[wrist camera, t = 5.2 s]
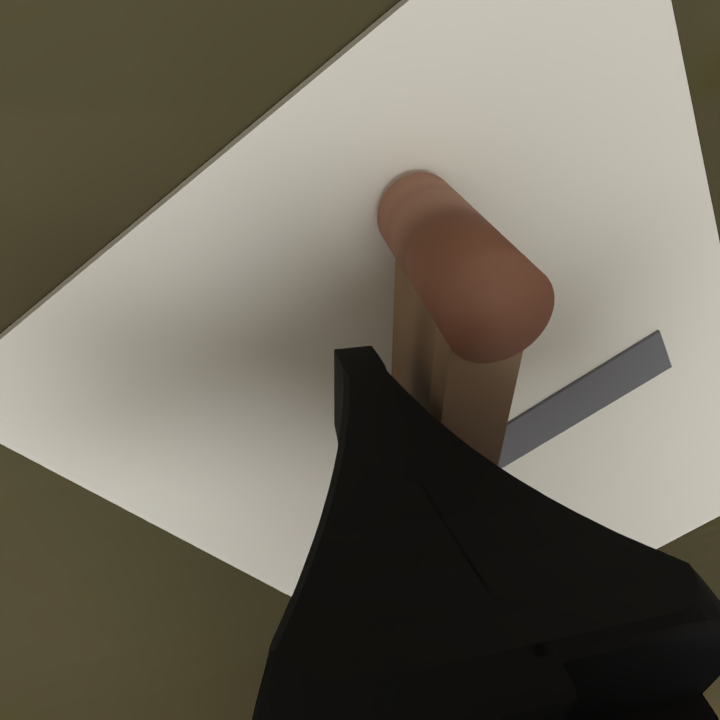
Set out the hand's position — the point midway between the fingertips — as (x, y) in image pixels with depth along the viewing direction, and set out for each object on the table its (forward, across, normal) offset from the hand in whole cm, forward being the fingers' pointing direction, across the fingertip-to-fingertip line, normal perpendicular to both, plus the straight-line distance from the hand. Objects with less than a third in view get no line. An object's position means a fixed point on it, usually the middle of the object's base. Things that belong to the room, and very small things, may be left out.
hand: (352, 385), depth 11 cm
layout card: (+2, -4, +5) cm, 7 cm away
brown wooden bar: (+1, -2, +1) cm, 2 cm away
